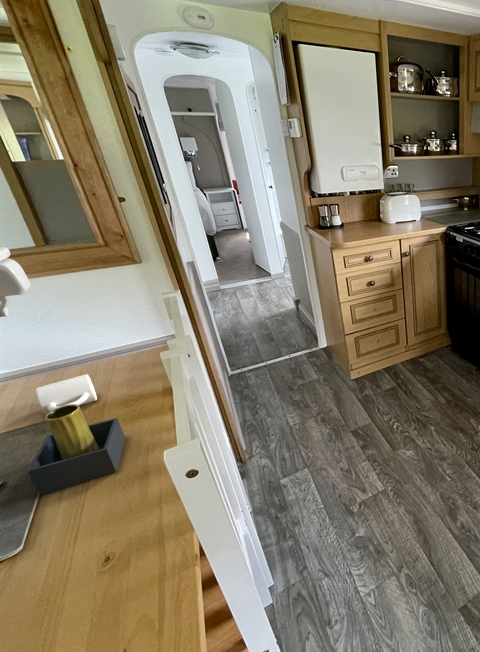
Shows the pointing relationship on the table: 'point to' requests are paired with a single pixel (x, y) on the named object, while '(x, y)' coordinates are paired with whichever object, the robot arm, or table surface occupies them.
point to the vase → (71, 431)
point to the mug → (66, 393)
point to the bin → (77, 459)
